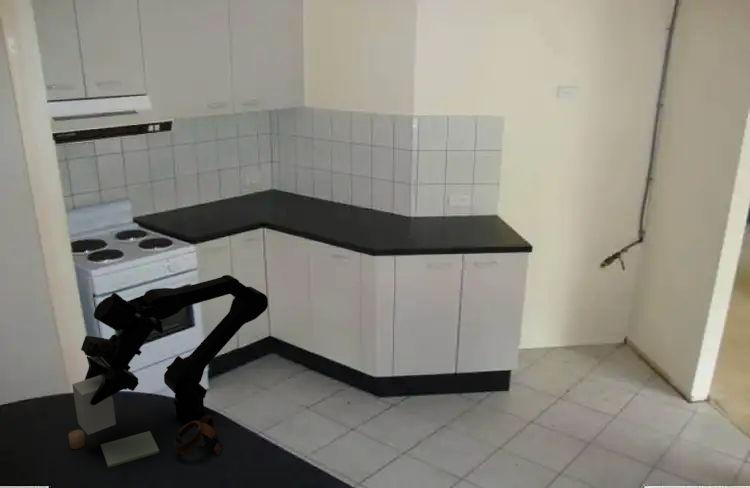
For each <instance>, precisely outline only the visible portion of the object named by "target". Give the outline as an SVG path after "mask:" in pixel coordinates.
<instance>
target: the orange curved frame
mask: <svg viewBox="0 0 750 488" xmlns="http://www.w3.org/2000/svg"><path fill="white" fill-rule="evenodd" d="M194 427H196V428H197V430H196V432H195V434H194V435H193V436H192V437H191V438H190V439H189V440H187V441H186V442H182V438H183V437H184V436H185V434H186V433H187V432H188V431H190V430H191V429H192V428H194ZM177 435H178V436H176V437H175V438H173V445H174V446H175V449H176V450H175V451H176V453H177V454H178V455H187V454H188V455H192V456H193V455H194V447H197V448H198V447H201V448H202V447H204V446H206V445H207V443H206V441H205V439H211V440H212V439H213V442H214V444H215V446H214V447H213V451H214V452H215V453H216V456H218V457H219V455H220V454H221V452H222V449H223V446H222V444H221V441H220V440H219V437H218V435H217V433H216V431H215V421H214V417H213V416H211V415H208V414H206V416H203V417H202V418H201V420H198V421H191V422H189V423H187V424H184V425H182V427H181V428H180V429H179V430H178V432H177Z"/></svg>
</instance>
